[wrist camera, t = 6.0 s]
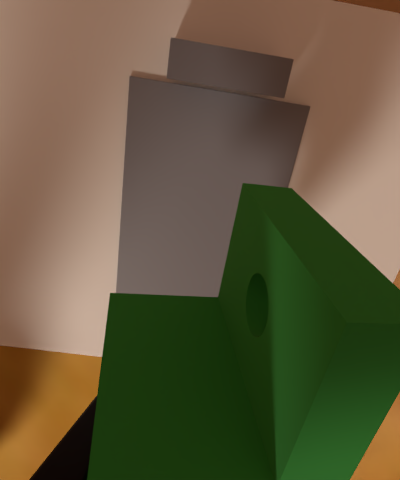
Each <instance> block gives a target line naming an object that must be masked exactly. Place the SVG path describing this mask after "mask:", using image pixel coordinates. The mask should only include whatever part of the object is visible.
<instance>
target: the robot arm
mask: <svg viewBox="0 0 400 480" xmlns="http://www.w3.org/2000/svg"><path fill="white" fill-rule="evenodd" d="M96 403H97V396H96V397H95V399H94V400H93V401H92V402H91V404H90V405H89V406H88V407H87V409H86V410H85V411H84V412H83V413H82V415H81V416H80V417H79V418H78V420H77V421H76V422H75V423H74V425H73V426H72V427H71V428H70V430H69V431H68V432H67V433H66V435H65V436H64V437H63V438H62V440H61V441H60V442H59V443H58V445H57V446H56V447H55V448H54V450H53V451H52V452H51V453H50V455H49V456H48V457H47V458H46V460H45V461H44V462H43V463H42V465H41V466H40V467H39V468H38V469H37V471H36V472H35V473H34V474H33V476H32V477H31V478H30V479H29V480H87V477H88V469H89V460H90V452H91V444H92V436H93V428H94V420H95V411H96Z"/></svg>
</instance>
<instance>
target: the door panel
mask: <svg viewBox="0 0 400 480" xmlns="http://www.w3.org/2000/svg"><path fill="white" fill-rule="evenodd" d="M243 183H248V184H258V185H267V186H276V187H286V188H292V189H293V190H294V191H295V192H296V193H297V194H298V195H299V196H301V197H302V198H303V199H304V200H305V201H306V202H307V203H308V204H309V205H310V206H311V207H312V208H313V209H314V210H315V211H316V212H318V213H319V214H320V215H321V216H322V217H323V218H324V219H325V220H326V221H327V222H328V223H329V224H330V225H331V226H332V227H333V228H335V229H336V230H337V231H338V232H339V233H340V234H341V235H342V236H343V237H344V238H345V239H346V240H347V241H348V242H349V243H350V244H352V245H353V246H354V247H355V248H356V249H357V250H358V251H359V252H360V253H361V254H362V255H363V256H364V257H365V258H366V259H368V260H369V261H370V262H371V263H372V264H373V265H374V266H375V267H376V268H377V269H378V270H379V271H380V272H381V273H382V274H383V275H385V276H386V277H387V278H388V279H389V280H390V281H391V282H392V283H393V282H394V280H395V278H396V275H397V273H398V271H399V269H400V13H396V12H391V11H386V10H381V9H375V8H370V7H365V6H360V5H355V4H349V3H344V2H339V1H334V0H0V345H1V346H10V347H19V348H28V349H37V350H46V351H54V352H63V353H72V354H81V355H90V356H99V357H102V354H103V346H104V338H105V330H106V322H107V314H108V306H109V297H110V293H128V294H152V295H176V296H200V297H218V295H219V290H220V285H221V281H222V276H223V271H224V267H225V262H226V258H227V253H228V248H229V244H230V239H231V234H232V230H233V225H234V221H235V216H236V211H237V207H238V202H239V197H240V193H241V188H242V184H243Z"/></svg>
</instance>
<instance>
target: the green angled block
mask: <svg viewBox="0 0 400 480" xmlns="http://www.w3.org/2000/svg"><path fill="white" fill-rule="evenodd" d="M399 392H400V290H399V289H398V288H397V287H396V286H395V285H394V284H393V283H392V282H391V281H390V280H389V279H388V278H387V277H386V276H385V275H383V274H382V273H381V272H380V271H379V270H378V269H377V268H376V267H375V266H374V265H373V264H372V263H371V262H370V261H369V260H368V259H366V258H365V257H364V256H363V255H362V254H361V253H360V252H359V251H358V250H357V249H356V248H355V247H354V246H353V245H352V244H350V243H349V242H348V241H347V240H346V239H345V238H344V237H343V236H342V235H341V234H340V233H339V232H338V231H337V230H336V229H335V228H333V227H332V226H331V225H330V224H329V223H328V222H327V221H326V220H325V219H324V218H323V217H322V216H321V215H320V214H319V213H318V212H316V211H315V210H314V209H313V208H312V207H311V206H310V205H309V204H308V203H307V202H306V201H305V200H304V199H303V198H302V197H301V196H299V195H298V194H297V193H296V192H295V191H294V190H293V189H292V188H286V187H276V186H267V185H258V184H248V183H243V184H242V188H241V193H240V197H239V202H238V207H237V211H236V216H235V221H234V225H233V230H232V234H231V239H230V244H229V248H228V253H227V258H226V262H225V267H224V271H223V276H222V281H221V285H220V290H219V295H218V297H200V296H176V295H152V294H128V293H110V297H109V306H108V314H107V322H106V330H105V338H104V346H103V354H102V363H101V371H100V379H99V387H98V395H97V403H96V411H95V420H94V428H93V436H92V444H91V452H90V460H89V469H88V477H87V480H350V478H351V476H352V475H353V473H354V471H355V469H356V468H357V466H358V464H359V462H360V461H361V459H362V457H363V455H364V454H365V452H366V450H367V448H368V446H369V445H370V443H371V441H372V439H373V438H374V436H375V434H376V432H377V431H378V429H379V427H380V425H381V424H382V422H383V420H384V418H385V417H386V415H387V413H388V411H389V409H390V408H391V406H392V404H393V402H394V401H395V399H396V397H397V395H398V394H399Z"/></svg>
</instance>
